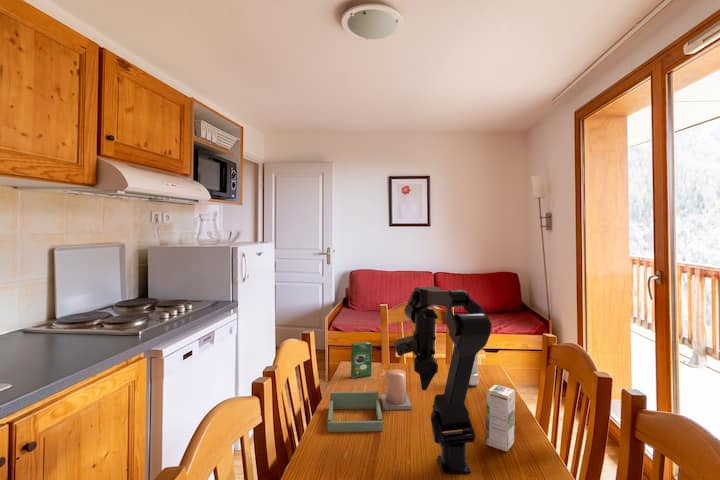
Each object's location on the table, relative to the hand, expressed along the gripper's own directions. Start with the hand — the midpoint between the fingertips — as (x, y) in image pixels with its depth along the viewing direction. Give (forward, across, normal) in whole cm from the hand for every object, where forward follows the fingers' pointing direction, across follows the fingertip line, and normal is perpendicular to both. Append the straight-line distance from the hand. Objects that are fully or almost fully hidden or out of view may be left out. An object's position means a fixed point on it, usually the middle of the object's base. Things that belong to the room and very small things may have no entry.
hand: (423, 382), depth 110 cm
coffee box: (+17, -37, -22) cm, 46 cm away
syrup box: (+12, +9, +20) cm, 25 cm away
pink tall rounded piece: (+13, -13, -8) cm, 20 cm away
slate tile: (+14, -13, -8) cm, 21 cm away
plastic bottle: (+16, -32, +20) cm, 41 cm away
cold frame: (+14, -1, -20) cm, 24 cm away
